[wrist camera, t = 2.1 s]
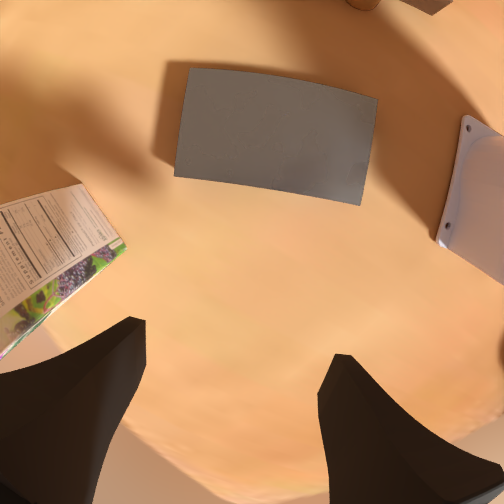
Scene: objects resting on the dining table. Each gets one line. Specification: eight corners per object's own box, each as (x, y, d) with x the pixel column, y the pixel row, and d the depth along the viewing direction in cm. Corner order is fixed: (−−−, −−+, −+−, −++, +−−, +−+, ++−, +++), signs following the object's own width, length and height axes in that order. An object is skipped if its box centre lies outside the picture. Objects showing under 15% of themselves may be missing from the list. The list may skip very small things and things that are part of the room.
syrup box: (83, 287, 20) (-43, 415, 6) (41, 226, 18) (-108, 311, 4) (130, 246, 18) (-30, 394, 5) (81, 178, 17) (-111, 242, 3)
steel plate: (347, 198, 17) (360, 205, 15) (185, 173, 17) (173, 176, 15) (363, 105, 15) (377, 99, 13) (199, 78, 15) (189, 67, 13)
